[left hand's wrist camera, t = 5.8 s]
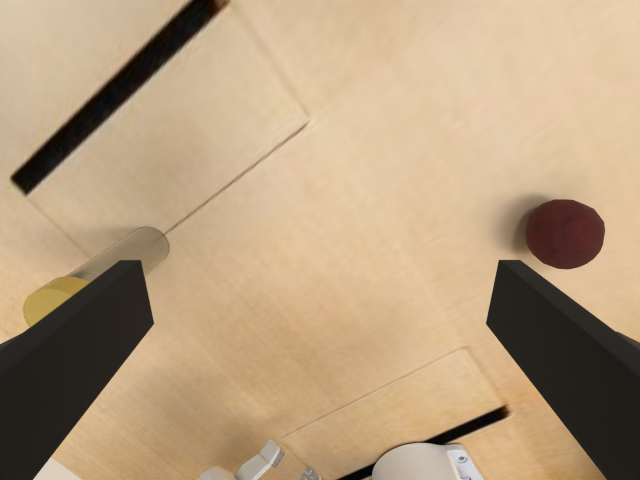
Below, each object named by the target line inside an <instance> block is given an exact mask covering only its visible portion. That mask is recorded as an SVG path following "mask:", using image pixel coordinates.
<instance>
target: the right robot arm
mask: <svg viewBox="0 0 640 480" xmlns="http://www.w3.org/2000/svg"><path fill="white" fill-rule="evenodd" d="M283 456H284V450H283V449H282V448H281V447H280V446H279V445H278V444H277V443H275V442H274V441H272V440H268V441H267V443H266V444H265V446H264V447H263V449H262V450H261V452H260V453H258V454H257V455H255V456H254V457H252V458H251V459H250V460H248V461H247V462H245V463H244V464H243V465H242V466H241V467H240V469H239V470H238V472H237V473H236V475H234V474H233V473H231V472H229V471H227V470H225V469H223V468H221V467H219V466H217V465H216V466H213V467H212V468H210V469H208V470H207V471H205V472H204V473H202V474H201V475H200V476H199V478H198V479H197V480H258V479H259V478H260V477H261V476H262V475H263V474H264V473H265V472H266V471H267V470H268V469H269V468H270V467H271V466H274V467H276V466H277V465H278V463H279V462H280V459H281V458H282V457H283ZM300 480H321V476H320V475H319V474H318V473H317V472H316V471H315V470H313V469H312V468H310V467H308V468H306V470H305V472H304V474H303V475H302V476H301V478H300ZM372 480H485V479H484V477H483V476H482V474H481V473H480V471H479V469H478V468H477V466H476V465H475V463H474V462H473V460H472V458H471V457H470V455H469V454H468V452H467V450H466V449H465V447H464V446H463V445H461V444H450V445H436V444H430V443H412V444H406V445H403V446H399V447H397V448H394V449H392V450H391V451H389V452H387V453H386V454H384V455H383V456H382V457H381V458H380V459H379V460H378V461H377V463H376V464H375V466H374V468H373V472H372Z"/></svg>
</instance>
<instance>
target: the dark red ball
mask: <svg viewBox="0 0 640 480" xmlns="http://www.w3.org/2000/svg"><path fill="white" fill-rule="evenodd" d="M604 234H605V226H604V222H603V220H602V219H601V218H600V216H599V215H598V214H597V212H596V211H595V210H594V209H593V208H591V207H589V206H587V205H584V204H582V203H579V202H577V201H574V200H552V201H549V202H546V203H544V204H542V205H540V206H539V207H538V208H537V209H536V210H534V212H533V214H532V215H531V217H530V218H529V222H528V225H527V229H526V242H527V245H528V247H529V249H530V250H531V252H532V253H533V255H535V256H536V257H537V258H538V259H539V260H540V261H541V262H543V263H544V264H547V265H549V266H552V267H555V268H558V269H573V268H577V267H580V266H582V265H585V264H587V263H588V262H590V261H591V260H593V259H594V258H595V257H596V256H597V254H598V253H599V252H600V250H601V248H602V245H603V240H604Z"/></svg>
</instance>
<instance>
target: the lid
mask: <svg viewBox="0 0 640 480" xmlns="http://www.w3.org/2000/svg"><path fill="white" fill-rule="evenodd" d="M87 284H89V282H87V281H85V280H83V279H80V278H77V277H69V276H66V277H59V278H56V279H54V280H52V281H50V282H49V283H47V284H46V285H44V286H43V287H41V288H39V289H38V290H36V291H35V292H33V293H32V294H30V295H29V296H28V297H27V299H26V300H25V303H24V306H23V313H24V317H25V320H26V322H27V324H28V325H29V327H31V326H33V325H34V324H35V323H37V322H38V321H39V320H41V319H42V318H43V317H45V316H46V315H47V314H49V313H50V312H51V311H53V310H54V309H55V308H57V307H58V306H59V305H61V304H62V303H63V302H65V301H66V300H67V299H69V298H70V297H71V296H73V295H74V294H75V293H77V292H78V291H79V290H81V289H82V288H83V287H85V286H86V285H87Z"/></svg>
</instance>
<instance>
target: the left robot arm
mask: <svg viewBox="0 0 640 480" xmlns="http://www.w3.org/2000/svg"><path fill="white" fill-rule="evenodd" d="M153 324H154V321H153V316H152V312H151V307H150V302H149V297H148V292H147V287H146V282H145V277H144V272H143V267H142V262H141V260H119V261H118V262H117V263H115V264H114V265H113V266H111V267H110V268H109V269H107V270H106V271H105V272H103V273H102V274H101V275H99V276H98V277H97V278H95V279H94V280H93V281H91V282H90V283H89V284H87V285H86V286H85V287H83V288H82V289H81V290H79V291H78V292H77V293H75V294H74V295H73V296H71V297H70V298H69V299H67V300H66V301H65V302H63V303H62V304H61V305H59V306H58V307H57V308H55V309H54V310H53V311H51V312H50V313H49V314H47V315H46V316H45V317H43V318H42V319H41V320H39V321H38V322H37V323H35V324H34V325H33V326H31V327H30V328H29V329H27V330H26V331H25V332H23V333H22V334H20V335H18V336H16V337H14V338H12V339H10V340H8V341H6V342H4V343H2V344H0V480H33V479H34V478H35V476H36V475H37V474H38V472H39V471H40V470H41V469H42V467H43V466H44V465H45V463H46V462H47V461H48V459H49V458H50V457H51V456H52V454H53V453H54V452H55V450H56V449H57V448H58V447H59V445H60V444H61V443H62V441H63V440H64V439H65V438H66V436H67V435H68V434H69V432H70V431H71V430H72V429H73V427H74V426H75V425H76V423H77V422H78V421H79V420H80V418H81V417H82V416H83V414H84V413H85V412H86V411H87V409H88V408H89V407H90V405H91V404H92V403H93V402H94V400H95V399H96V398H97V396H98V395H99V394H100V393H101V391H102V390H103V389H104V387H105V386H106V385H107V384H108V382H109V381H110V380H111V378H112V377H113V376H114V375H115V373H116V372H117V371H118V369H119V368H120V367H121V366H122V364H123V363H124V362H125V360H126V359H127V358H128V357H129V355H130V354H131V353H132V351H133V350H134V349H135V348H136V346H137V345H138V344H139V342H140V341H141V340H142V339H143V337H144V336H145V335H146V333H147V332H148V331H149V330H150V328H151V327H152V326H153ZM486 324H487V326H488V327H489V328H490V330H491V331H492V332H493V333H494V335H495V336H496V337H497V339H498V340H499V341H500V342H501V344H502V345H503V346H504V348H505V349H506V350H507V351H508V353H509V354H510V355H511V357H512V358H513V359H514V360H515V362H516V363H517V364H518V366H519V367H520V368H521V369H522V371H523V372H524V373H525V375H526V376H527V377H528V378H529V380H530V381H531V382H532V384H533V385H534V386H535V387H536V389H537V390H538V391H539V393H540V394H541V395H542V396H543V398H544V399H545V400H546V402H547V403H548V404H549V405H550V407H551V408H552V409H553V411H554V412H555V413H556V414H557V416H558V417H559V418H560V420H561V421H562V422H563V423H564V425H565V426H566V427H567V429H568V430H569V431H570V432H571V434H572V435H573V436H574V438H575V439H576V440H577V441H578V443H579V444H580V445H581V447H582V448H583V449H584V450H585V452H586V453H587V454H588V456H589V457H590V458H591V460H592V461H593V462H594V463H595V465H596V466H597V467H598V469H599V470H600V471H601V472H602V474H603V475H604V476H605V478H606V479H607V480H640V343H639V342H637V341H635V340H633V339H631V338H629V337H627V336H625V335H623V334H621V333H619V332H615V331H614V330H613V329H611V328H610V327H609V326H607V325H606V324H605V323H603V322H602V321H601V320H599V319H598V318H597V317H595V316H594V315H593V314H591V313H590V312H589V311H587V310H586V309H585V308H583V307H582V306H581V305H579V304H578V303H577V302H575V301H574V300H573V299H571V298H570V297H569V296H567V295H566V294H565V293H563V292H562V291H561V290H559V289H558V288H557V287H555V286H554V285H553V284H551V283H550V282H549V281H547V280H546V279H545V278H543V277H542V276H541V275H539V274H538V273H537V272H535V271H534V270H533V269H531V268H530V267H529V266H527V265H526V264H525V263H523V262H522V261H521V260H499V262H498V267H497V272H496V277H495V282H494V287H493V292H492V297H491V302H490V307H489V312H488V316H487V321H486Z"/></svg>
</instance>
